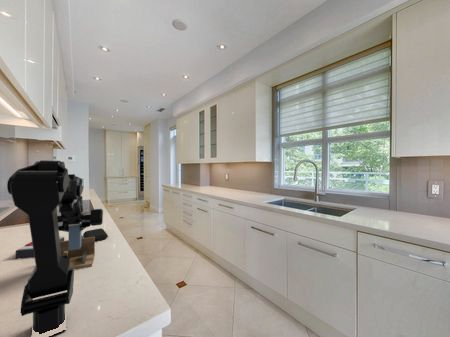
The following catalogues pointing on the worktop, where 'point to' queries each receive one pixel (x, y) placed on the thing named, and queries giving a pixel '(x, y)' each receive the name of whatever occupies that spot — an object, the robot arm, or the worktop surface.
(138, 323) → the worktop surface
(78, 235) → the blue tall block
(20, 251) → the calculator
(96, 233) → the carrying case or bag
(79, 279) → the worktop surface
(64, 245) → the stand
